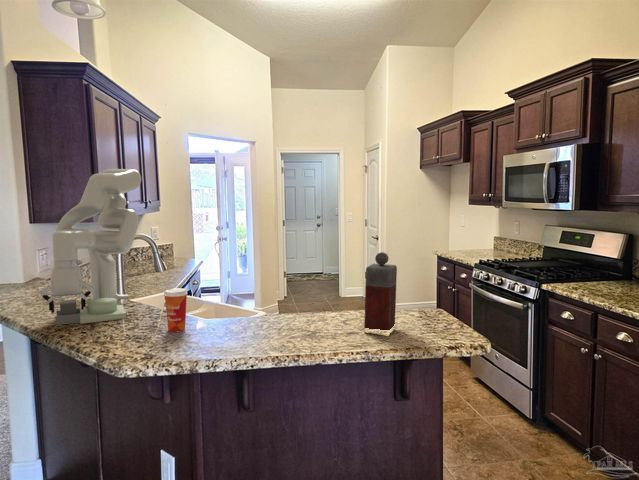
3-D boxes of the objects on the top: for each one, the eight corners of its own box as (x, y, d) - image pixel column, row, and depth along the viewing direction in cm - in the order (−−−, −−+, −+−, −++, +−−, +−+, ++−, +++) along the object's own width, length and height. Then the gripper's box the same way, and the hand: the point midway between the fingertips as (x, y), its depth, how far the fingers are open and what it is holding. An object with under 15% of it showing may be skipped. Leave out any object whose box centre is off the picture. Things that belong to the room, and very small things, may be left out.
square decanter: (396, 327, 151) (398, 251, 148) (389, 336, 140) (392, 254, 138) (372, 324, 154) (374, 249, 151) (363, 333, 144) (366, 253, 141)
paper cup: (159, 330, 142) (159, 291, 141) (177, 325, 149) (176, 287, 148) (176, 334, 139) (175, 293, 138) (193, 328, 146) (192, 289, 144)
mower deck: (122, 309, 169) (122, 295, 168) (125, 318, 157) (125, 302, 156) (57, 316, 158) (56, 301, 157) (55, 326, 145) (54, 309, 145)
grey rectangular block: (76, 317, 157) (76, 299, 157) (76, 321, 152) (76, 302, 151) (61, 319, 155) (60, 300, 154) (60, 323, 150) (60, 304, 149)
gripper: (92, 261, 159) (94, 305, 161) (38, 264, 150) (40, 310, 152) (93, 264, 152) (94, 310, 154) (36, 267, 144) (38, 316, 145)
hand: (68, 310), depth 153 cm, fingers open, 9 cm apart
